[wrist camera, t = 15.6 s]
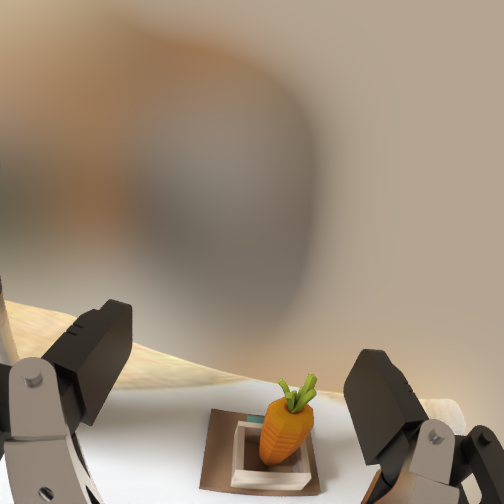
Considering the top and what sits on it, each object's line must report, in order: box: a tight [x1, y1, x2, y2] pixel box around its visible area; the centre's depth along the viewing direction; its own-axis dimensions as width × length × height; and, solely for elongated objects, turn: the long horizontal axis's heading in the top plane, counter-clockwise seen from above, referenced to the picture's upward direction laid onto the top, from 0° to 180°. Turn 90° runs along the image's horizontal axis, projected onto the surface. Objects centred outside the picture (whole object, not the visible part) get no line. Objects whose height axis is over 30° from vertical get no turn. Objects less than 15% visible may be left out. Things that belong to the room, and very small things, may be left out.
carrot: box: [259, 374, 317, 466], centre depth 25 cm, size 5×5×15 cm
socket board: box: [199, 409, 321, 496], centre depth 28 cm, size 14×13×5 cm
